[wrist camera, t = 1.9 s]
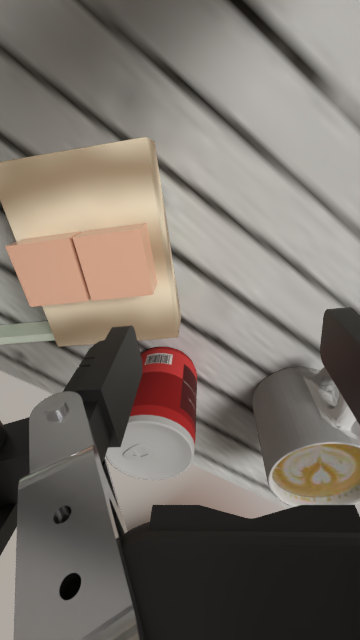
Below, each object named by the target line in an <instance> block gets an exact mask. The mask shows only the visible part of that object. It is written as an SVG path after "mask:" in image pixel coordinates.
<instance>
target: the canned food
mask: <svg viewBox="0 0 360 640" xmlns="http://www.w3.org/2000/svg"><path fill="white" fill-rule="evenodd" d="M141 358H142V365H143V371H142V377H141V380H140V383H139V387H138V390H137V394H136V397H135V400H134V404H133V407H132V410H131V414H130V417H129V421H128V424H127V427H126V431H125V434H124V438H123V441H122V444H121V447H110V448H108V449H107V452H106V455H105V456H106V458H107V460H108V461H109V462H110V464H111V465H112V466H114V467H115V468H116V469H118V470H119V471H121V472H122V473H124V474H127V475H129V476H132V477H135V478H139V479H145V480H163V479H167V478H171V477H174V476H177V475H179V474H180V473H182V472H184V471H185V470H186V469H187V468H188V467H189V466H190V464H191V463H192V460H193V458H194V452H195V432H196V393H197V373H196V369H195V367H194V365H193V363H192V361H191V359H190V358H189V357H188V356H187V355H186V354H184V353H183V352H181V351H179V350H177V349H174V348H170V347H155V348H151V349H148V350H146V351H144V352H143V353H142V354H141Z"/></svg>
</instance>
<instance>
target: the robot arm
mask: <svg viewBox="0 0 360 640" xmlns="http://www.w3.org/2000/svg"><path fill="white" fill-rule="evenodd" d="M320 354H321V359H322V362H323V365H324V366H325V368H326V370H327V371H328V373H329V375H330V376H331V378H332V380H333V382H334V383H335V385H336V387H337V388H338V390H339V392H340V393H341V395H342V397H343V398H344V400H345V402H346V403H347V405H348V407H349V408H350V410H351V412H352V413H353V415H354V417H355V418H356V420H357V422H358V423H359V425H360V315H359V314H358V313H357V312H356V311H355V310H354V309H353V308H351V307H349V308H337V309H327V310H326V311H325V313H324V318H323V327H322V336H321V345H320ZM142 371H143V365H142V358H141V354H140V350H139V345H138V341H137V337H136V333H135V329H134V327H133V326H132V325H130V326H118V327H112V328H111V330H110V331H109V333H108V335H107V337H106V338H105V340H103V341H99V342H98V343H96V344H95V345H94V346H93V347H91V348H90V349H89V351H88V352H87V354H86V355H85V357H84V360H82V362H81V364H80V365H79V367H78V368H77V370H76V372H75V373H74V375H73V376H72V378H71V380H70V381H69V383H68V384H67V386H66V388H65V389H64V391H63V392H60V393H57V394H54V395H52V396H50V397H48V398H46V399H44V400H43V401H42V402H40V403H39V404H38V405H37V406H36V407H35V408H34V409H33V411H32V412H31V414H30V417H29V418H26V419H22V420H19V421H15V422H12V423H8V424H5V425H3V424H2V423H1V421H0V555H1V553H2V552H3V550H4V548H5V546H6V544H7V542H8V541H9V539H10V537H11V536H12V534H13V532H14V530H15V528H16V527H17V547H16V578H15V580H16V581H15V613H14V614H15V615H14V640H360V517H359V514H358V512H357V509H356V508H355V505H299V506H296V507H293V508H289V509H286V510H282V511H279V512H275V513H272V514H269V515H265V516H262V517H258V518H254V519H248V518H244V517H240V516H236V515H233V514H229V513H225V512H222V511H218V510H215V509H211V508H208V507H204V506H200V505H153V507H152V512H151V520H150V522H148V523H144V524H142V525H140V526H137V527H135V528H133V529H132V530H130V531H127V528H126V525H125V522H124V519H123V516H122V513H121V509H120V506H119V503H118V499H117V496H116V493H115V490H114V486H113V482H112V479H111V476H110V472H109V469H108V466H107V462H106V460H105V455H106V452H107V449H108V448H110V447H121V444H122V441H123V438H124V434H125V431H126V427H127V424H128V421H129V417H130V414H131V410H132V407H133V404H134V400H135V397H136V394H137V390H138V387H139V383H140V380H141V377H142Z"/></svg>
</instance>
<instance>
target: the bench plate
mask: <svg viewBox="0 0 360 640" xmlns="http://www.w3.org/2000/svg"><path fill="white" fill-rule="evenodd" d="M0 201H1V203H2V206H3V208H4V211H5V214H6V216H7V219H8V221H9V224H10V226H11V229H12V231H13V234H14V236H15V239H16V241H19V240H22V239H26V238H33V237H41V236H48V235H56V234H64V233H71V232H79V231H82V232H84V231H87V230H94V229H102V228H109V227H117V226H125V225H132V224H140V223H147V228H148V234H149V239H150V245H151V250H152V256H153V261H154V267H155V272H156V278H157V286H156V288H155V291H154V294H153V295H147V296H137V297H127V298H117V299H107V300H96V301H92V300H91V299H90V300H89V301H86V302H76V303H66V304H56V305H45V306H42V307H43V310H44V312H45V315H46V317H47V320H48V322H49V325H50V328H51V330H52V333H53V335H54V338H55V340H56V343H57V345H58V347H61V346H74V345H86V344H96V343H98V342H99V341H103V340H105V338H106V337H107V335H108V333H109V331H110V330H111V328H112V327H118V326H130V325H132V326H133V327H134V329H135V333H136V337H137V341H138V340H151V339H163V338H176V337H178V334H179V328H180V321H181V314H180V307H179V301H178V294H177V288H176V281H175V274H174V268H173V261H172V254H171V248H170V241H169V235H168V228H167V221H166V215H165V208H164V201H163V195H162V188H161V181H160V175H159V168H158V162H157V155H156V148H155V142H154V141H153V140H151V139H149V138H147V137H143V138H137V139H131V140H125V141H119V142H113V143H108V144H102V145H96V146H90V147H84V148H78V149H72V150H66V151H61V152H55V153H49V154H43V155H37V156H31V157H25V158H19V159H14V160H8V161H2V162H0Z"/></svg>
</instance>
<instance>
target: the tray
mask: <svg viewBox="0 0 360 640" xmlns="http://www.w3.org/2000/svg"><path fill="white" fill-rule="evenodd" d="M51 340H55V338H54V335H53V333H52V330H51V328H50V325H49V322H48V321H42V322H31V323H20V324H9V325H0V345H2V344H14V343H26V342H39V341H51Z"/></svg>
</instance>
